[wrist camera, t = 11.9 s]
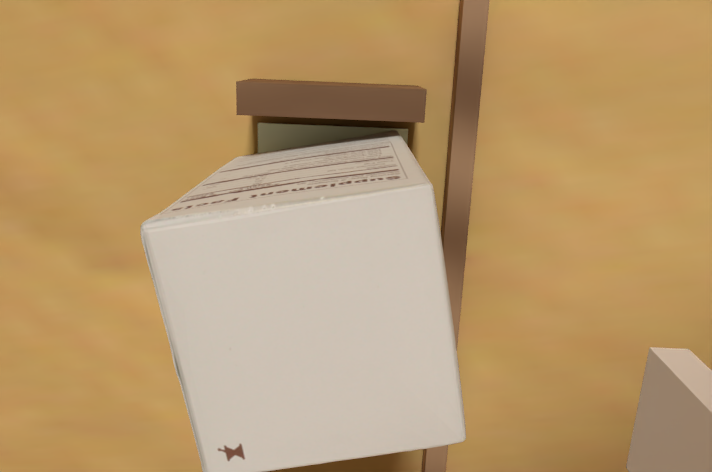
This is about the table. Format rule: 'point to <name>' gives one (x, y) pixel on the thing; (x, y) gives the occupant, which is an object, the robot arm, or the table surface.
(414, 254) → the supplement box
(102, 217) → the table surface
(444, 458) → the notch rail
